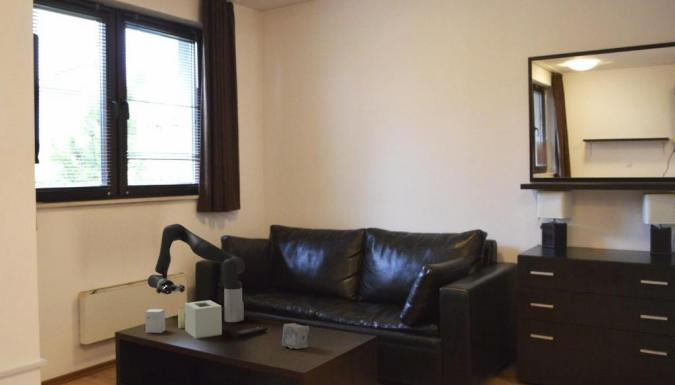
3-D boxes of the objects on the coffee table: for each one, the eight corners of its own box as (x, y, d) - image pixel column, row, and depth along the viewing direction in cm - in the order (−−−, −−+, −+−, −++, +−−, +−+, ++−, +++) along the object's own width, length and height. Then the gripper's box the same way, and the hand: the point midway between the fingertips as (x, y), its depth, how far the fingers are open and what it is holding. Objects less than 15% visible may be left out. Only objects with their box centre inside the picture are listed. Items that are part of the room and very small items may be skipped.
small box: (165, 330, 301) (165, 309, 301) (161, 333, 295) (160, 311, 295) (150, 329, 302) (149, 308, 301) (145, 332, 296) (145, 311, 296)
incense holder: (310, 347, 270) (309, 324, 269) (297, 351, 263) (297, 328, 263) (293, 343, 276) (293, 321, 276) (281, 347, 269) (281, 324, 269)
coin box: (210, 327, 305) (210, 300, 305) (221, 334, 291) (221, 306, 291) (185, 331, 298) (184, 303, 298) (195, 338, 285) (195, 309, 284)
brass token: (182, 326, 307) (182, 307, 307) (184, 327, 305) (184, 308, 304) (178, 327, 306) (177, 307, 306) (179, 328, 303) (179, 308, 303)
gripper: (152, 280, 324) (160, 285, 310) (178, 278, 332) (187, 283, 318) (152, 294, 325) (160, 299, 311) (178, 291, 332) (187, 297, 318)
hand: (174, 291), depth 314 cm, fingers open, 8 cm apart
